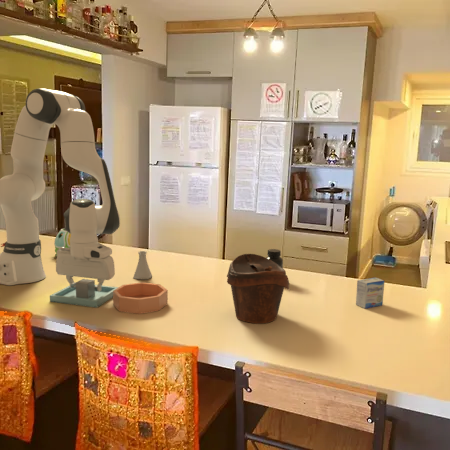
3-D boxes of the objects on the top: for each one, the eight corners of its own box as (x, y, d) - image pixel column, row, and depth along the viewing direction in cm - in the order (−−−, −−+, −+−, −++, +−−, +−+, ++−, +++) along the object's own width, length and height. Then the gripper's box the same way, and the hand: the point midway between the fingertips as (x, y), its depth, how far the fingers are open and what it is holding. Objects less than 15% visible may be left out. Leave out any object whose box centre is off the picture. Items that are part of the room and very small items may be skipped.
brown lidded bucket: (273, 333, 139) (275, 271, 136) (213, 318, 150) (214, 260, 147) (298, 315, 154) (301, 259, 151) (243, 302, 165) (244, 250, 162)
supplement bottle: (274, 285, 183) (276, 253, 181) (260, 281, 187) (261, 250, 185) (285, 281, 188) (287, 250, 186) (271, 277, 192) (272, 247, 190)
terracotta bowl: (105, 309, 155) (105, 295, 154) (129, 293, 170) (129, 280, 169) (153, 315, 151) (153, 301, 150) (172, 299, 166) (172, 285, 165)
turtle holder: (73, 263, 207) (72, 235, 204) (48, 255, 218) (47, 229, 215) (97, 257, 216) (97, 230, 214) (73, 250, 227) (72, 225, 225)
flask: (148, 280, 185) (148, 254, 183) (130, 279, 186) (129, 253, 184) (154, 275, 192) (154, 250, 190) (137, 274, 193) (137, 249, 191)
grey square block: (76, 297, 164) (75, 282, 163) (83, 293, 168) (82, 278, 167) (87, 298, 163) (87, 283, 162) (95, 294, 167) (94, 280, 166)
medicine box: (364, 309, 160) (366, 283, 159) (355, 304, 164) (357, 279, 163) (382, 305, 164) (385, 280, 162) (373, 301, 168) (375, 276, 166)
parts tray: (49, 301, 161) (49, 295, 161) (75, 287, 175) (75, 282, 175) (96, 307, 156) (96, 301, 156) (119, 293, 171) (119, 287, 170)
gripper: (50, 248, 163) (52, 289, 165) (107, 254, 157) (108, 295, 160) (62, 244, 168) (63, 283, 171) (116, 249, 163) (117, 289, 166)
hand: (85, 289), depth 165 cm, fingers open, 8 cm apart
